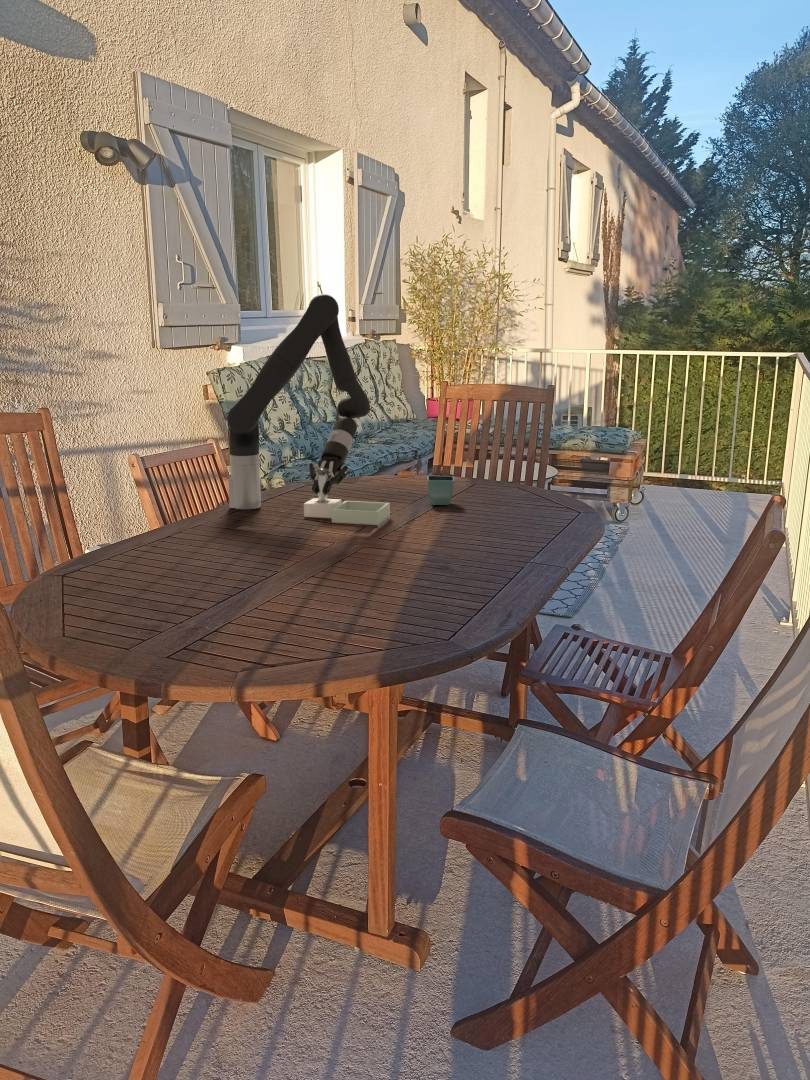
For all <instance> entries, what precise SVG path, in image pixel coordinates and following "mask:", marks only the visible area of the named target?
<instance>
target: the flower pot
mask: <svg viewBox="0 0 810 1080" xmlns="http://www.w3.org/2000/svg"><path fill="white" fill-rule="evenodd" d="M455 482H456V481H455V477H454V476H453V475H427V491H428V497H429V501H430V503H431V505H432V504H435V505H448V506H449V505H450V504H451V501H452V498H453V495H454V489H455Z"/></svg>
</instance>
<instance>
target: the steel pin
mask: <svg viewBox="0 0 810 1080" xmlns="http://www.w3.org/2000/svg"><path fill="white" fill-rule="evenodd" d="M317 473H318V493H317V496H318V497H317V498H318V503H327V499H328V494H327V495H324V494H323V492H322V490H323V487H324V485H325V482H326V481H327V478H328V475H327V473H328V469H327V468H319V467H318V469H317V471H316V474H317Z"/></svg>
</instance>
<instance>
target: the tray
mask: <svg viewBox="0 0 810 1080" xmlns="http://www.w3.org/2000/svg"><path fill="white" fill-rule="evenodd" d="M390 506H391V503H390V502H376V501H362V500H360V501H358V500H344V501H343V502H341V504H340V505H338V506H336V507H335V508H333V509H332V518H331V523H336V524H353V525H370V526H371V525H373V526H375V527H374V529H379V528H380V527H381V526H382V525H384V524H385V523H386V522H387V521H388V520H390V519H389V518H391V516H390V515H391V511H390V509H391V508H390ZM385 521H386V522H385ZM384 522H385V523H384ZM383 523H384V524H383ZM379 526H380V527H379ZM378 527H379V528H378Z"/></svg>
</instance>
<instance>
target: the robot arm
mask: <svg viewBox="0 0 810 1080" xmlns="http://www.w3.org/2000/svg"><path fill="white" fill-rule="evenodd" d="M309 301H310V302H309V304H308V307H307V309H306V310H305V312H304V314H303V315H302V317H301V318H300V320H299V322H298V323H297V324H296V326H295V328H294V329H293V330H292V331H291V332H290V333H289V334H288V335H287V336H285V338H284V339H283V340H281V342H280V343H279V344H278V345H277V346H276V348H274V350H273V351H272V353H271V354H270V356H269V357H267V360H266V361H265V363H264V364H263V365H262V367H261V369H260V370H259V372H258V374H257V375H256V377H255V379H254V381H253V383H252V384H251V386H250V387H249V389H248V390H247V391H246V392H245V393H244V395H243V396H242V397H241V398H240V399H239V400H238V401H237V402H236V403H235V404H234V405H233V406H232V407H231V408H230V409H229V411H228V412H227V417H226V419H227V425H228V427H229V447H228V448H229V449H228V450H229V463H230V464H229V465H230V477H229V478H227V479H228V480H227V481H228V502H229V509H234V508H235V509H234V510H254V509H259V508H261V506H262V499H261V498H262V496H261V472H260V471H261V470H260V469H261V467H260V424H259V423H260V422H259V420H260V418H261V416H262V414H263V413H264V411H265V410H266V408H267V407H268V405H269V404H270V402H271V401H272V400H273V399H274V398H275V397H276V396H277V395H278V394H279V393H280V392H281V391H282V390H283V389H284V388H285V387H286V386H287V384H288V383H289V382H290V381H291V379H292V378H293V377H294V375H295V374H296V373H297V372H298V371H299V369H300V367H301V366H302V364H303V363H304V361H305V359H306V358H307V356H308V355H309V353H310V351H311V349H312V347H313V346H314V344H315V343H316V341H317V340H318V339H319V338H321V340H322V344H323V347H324V350H325V353H326V356H327V357H326V358H327V362H328V365H329V370H330V372H331V374H332V375H331V376H332V379H333V381H334V385H335V387H336V389H337V390H338V391H340V392H345V393H347V394H348V395H349V396H347V397H343V398H341V399H340V401H339V402H338V403H337V406H336V413H335V414H336V417H335V424H334V426H333V427H332V431H331V432H330V434H329V437H328V439H327V441H326V442H325V446H324V448H323V451H322V453H321V457H320V459H319V460H318V461H317V463H313V462H311V463H309V465H308V467H309V476H310V479H311V481H312V482H313V485H312V486H311V491H312V493H313V494H314V495H318V473H317V469H318V468H327V469H328V473H327V481H326V482H325V485H324V487H323V490H322V492H323V494H324V495H327V496H328V494H329V493H330V492H331V488H332V487H333V485H339V484H340V483H341V482H342V481H343V480H345V478H346V477H347V476H348V475H349V473H350V472H351V471H350V468H349V467H348V465H345V463H346V460H347V458H348V455H349V453H350V450H351V447H352V445H353V441H354V437H355V436H356V433H357V430H358V424H357V422H356V421H355V420H354V419H358V418H359V419H360V418H364V417H366V416H368V415H369V412H370V410H371V403H370V400H369V398H368V395H367V394H366V392H365V391H364V389H363V388H362V386H361V384H360V382H359V381H358V378H357V376H356V371H355V369H354V366H353V363H352V360H351V358H350V355H349V352H348V350H347V347H346V345H345V342H344V339H343V337H342V336H343V335H342V332H341V329H340V323H339V317H338V316H339V312H340V308H339V304H338V302H337V300H336V299H335V298H334V297H333V296H332V295H329V294H327V293H321V294H317V295H315V296H314V297H312V299H310V300H309Z"/></svg>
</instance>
